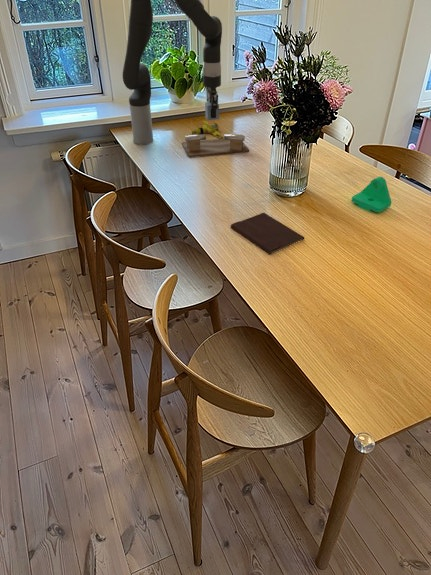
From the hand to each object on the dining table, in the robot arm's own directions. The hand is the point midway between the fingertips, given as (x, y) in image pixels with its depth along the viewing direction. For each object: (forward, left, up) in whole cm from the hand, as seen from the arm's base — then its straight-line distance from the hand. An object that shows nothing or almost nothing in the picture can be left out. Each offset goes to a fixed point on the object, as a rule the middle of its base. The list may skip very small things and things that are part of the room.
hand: (212, 115), depth 194 cm
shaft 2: (+1, +10, -11) cm, 15 cm away
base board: (-2, +2, -15) cm, 16 cm away
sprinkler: (-22, +3, -16) cm, 27 cm away
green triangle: (+64, +44, -16) cm, 79 cm away
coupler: (0, 0, -1) cm, 1 cm away
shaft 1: (-2, -7, -11) cm, 13 cm away
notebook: (+74, +1, -16) cm, 76 cm away
